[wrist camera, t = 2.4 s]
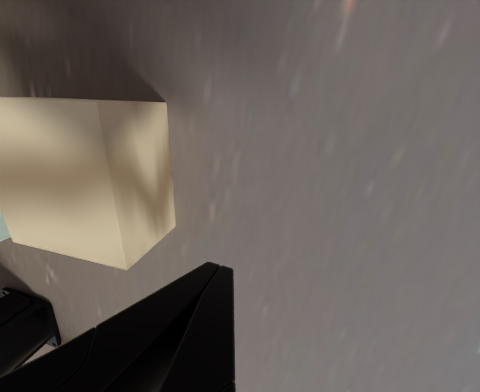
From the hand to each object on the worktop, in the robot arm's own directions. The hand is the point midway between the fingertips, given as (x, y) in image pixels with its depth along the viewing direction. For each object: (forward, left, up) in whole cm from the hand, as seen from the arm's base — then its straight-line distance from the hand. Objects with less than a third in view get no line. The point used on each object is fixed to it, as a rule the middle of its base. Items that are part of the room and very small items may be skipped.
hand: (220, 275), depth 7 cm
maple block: (0, +10, -7) cm, 12 cm away
